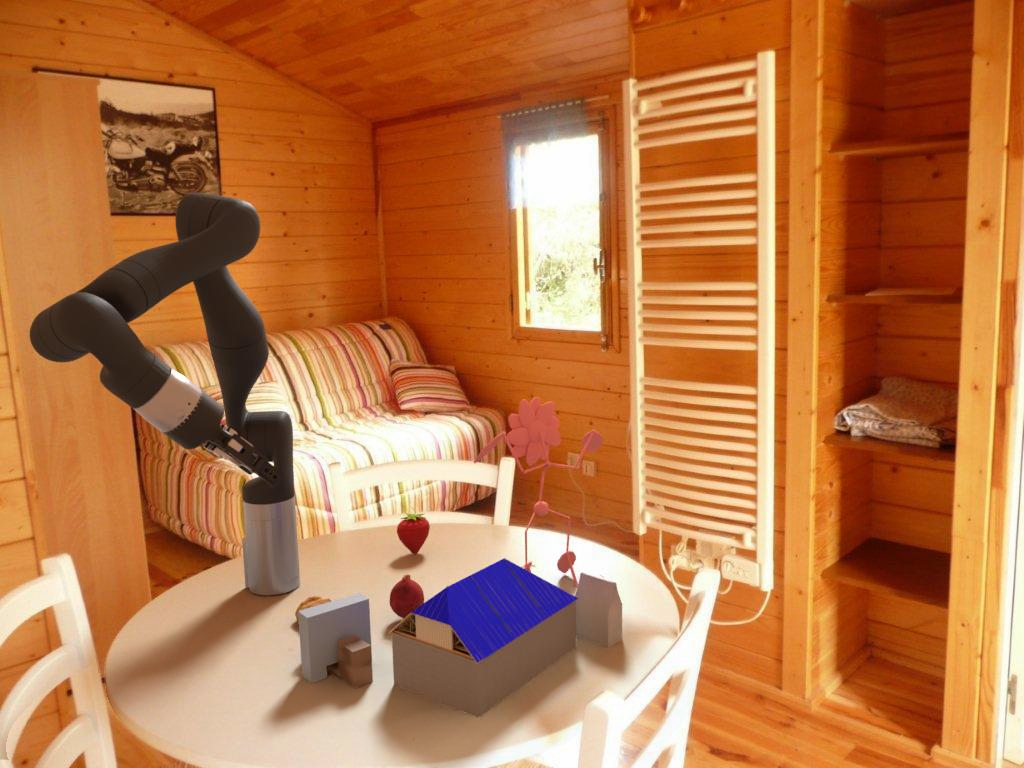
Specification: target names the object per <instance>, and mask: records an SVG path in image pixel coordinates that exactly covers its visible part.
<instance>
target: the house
mask: <svg viewBox="0 0 1024 768" xmlns="http://www.w3.org/2000/svg"><path fill="white" fill-rule="evenodd" d="M576 600H578V598H577V597H575V595H573V594H571V593H569V592H567V591H565V590H563V589H562V588H560V587H558V586H556V585H554V584H553V583H551V582H549V581H547V580H545V579H543V578H541V577H540V576H538V575H536V574H534V573H532V571H531V572H529V571H527V570H525V569H524V567H523V566H519V565H518V564H516V563H514V562H512V561H510V560H509V559H507V558H505V557H504V558H502V559H500V560H498V561H496V562H493V563H492V564H490V565H488V566H486V567H484V568H482V569H480V570H478V571H475V572H474V573H472V574H469V575H468V576H466V577H465V578H463V579H462V578H461V579H460V580H458V581H456V582H455V583H452V584H449V585H446V587H445V588H443V589H442V590H441V591H439V592H437V593H436V594H435V595H434V596H432V597H431V598H428V600H426V601H424V604H422V605H421V606H419V607H418V608H417V609H415V610H414V611H412V612H411V613H410V614H409V615H408V616H407V617H405V618H404V619H403V618H402V620H401V621H400V622H398V624H396V625H395V626H394V627H393V628H392V629H391V630H390V631H389V632H388V634H391V645H392V646H391V648H392V668H393V669H392V670H393V672H392V673H393V685H394V686H397V687H399V688H402V689H405V690H408V691H410V692H413V693H415V694H418V695H420V696H422V697H425V698H427V699H430V700H432V701H435V702H437V703H441V704H443V705H445V706H447V707H448V706H449V707H450V708H453V709H455V710H458V711H460V712H463V713H466V714H468V715H470V716H474V717H475V718H477V719H478V718H480V717H482V716H483V715H485V714H486V713H487V712H488V711H490V710H491V709H493V708H495V707H496V706H497V705H498V704H500V703H501V702H503V700H504V701H505V699H507V698H508V697H510V696H511V695H512V694H513V693H515V692H516V691H517V690H519V689H520V688H522V687H523V686H524V685H526V684H527V683H529V682H530V681H531V680H532V679H535V678H536V677H537V676H539V674H541V673H542V672H544V671H545V670H547V669H548V668H549V667H550V666H552V665H554V664H555V663H556V662H558V661H559V660H560V659H562V658H563V657H565V655H567V654H568V653H570V652H571V651H573V650H574V649H575V648H577V636H576Z"/></svg>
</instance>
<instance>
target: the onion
mask: <svg viewBox="0 0 1024 768" xmlns="http://www.w3.org/2000/svg"><path fill="white" fill-rule="evenodd" d="M424 603H425V594H424V590H423V587H422V586H421V585H420V584H419V583H418V582H417V581H415V580H413V579H411V574H409V573H405V574H404V575H403V577H402V578H401V580H400V581H398V582H397V583H396V584H395V585H394V586H393V587H392V588H391V590H390V593H389V606H390V609H391V610H392V612H394V614H395V615H397V617H399V618H402V620H403V619H404V618H405V617H407V616H408V615H409V614H410V613H411V612H412V611H414V610H415V609H417V608H418V607H419V606H421V605H422V604H424Z"/></svg>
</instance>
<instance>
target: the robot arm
mask: <svg viewBox="0 0 1024 768" xmlns="http://www.w3.org/2000/svg"><path fill="white" fill-rule="evenodd" d="M174 220H175V229H176V230H175V231H176V232H175V233H176V235H177V236H176V238H177V241H174V242H171V243H170V242H169V243H167V244H166V243H165V244H163V245H159V246H156V247H151V248H147V249H145V250H141V251H139V252H137V253H134V254H132V255H129V256H127V257H125V258H124V259H122V260H121V261H119V262H118V263H116V264H115V265H113V266H111V267H110V268H108V269H107V270H105V271H104V272H102V273H101V274H99V275H98V276H97V277H96V278H95V279H93V280H92V281H91V282H90V283H88V284H87V285H86V286H84V287H82V288H80V289H79V290H78V291H76V292H73V293H70V294H68V295H67V296H65V297H63V298H62V299H60V300H58V301H57V302H55V303H53V304H52V305H50V306H48V307H46V308H45V309H44V310H42V311H40V312H39V313H38V314H37V315H36V316H35V317H34V319H33V321H31V322H32V323H31V325H30V328H29V340H30V344H31V346H32V347H33V349H34V350H35V352H36V353H37V354H39V356H41V357H42V358H44V359H45V360H48V361H49V362H50V361H51V362H54V363H69V362H74V361H77V360H79V359H81V358H83V357H84V356H87V355H88V354H91V355H92V356H94V357H95V359H97V360H98V361H99V362H100V363H101V365H102V366H101V368H100V372H99V380H100V383H101V385H102V386H103V387H104V388H105V389H106V390H107V391H109V393H111V394H113V395H114V396H115V397H117V399H119V400H121V401H122V402H123V403H125V405H128V406H129V407H130V408H132V409H133V410H134V411H135V412H136V413H137V414H138V415H139V416H141V418H143V420H145V421H146V422H147V423H149V424H150V425H152V426H153V427H154V428H156V430H159V432H161V433H162V434H163V435H165V436H167V438H169V439H170V440H171V441H173V442H174V443H175V444H177V445H178V446H180V447H181V448H183V449H185V450H189V451H190V450H194V449H196V448H198V447H200V446H202V445H203V448H204V449H206V450H207V451H208V452H210V453H212V454H214V455H215V456H217V457H218V458H219V459H224V460H225V461H229V462H230V463H231V464H233V465H235V466H236V467H238V468H239V469H240V470H242V472H244V473H246V475H247V474H248V475H252V474H254V475H257V477H255V478H252V479H249V480H248V481H246V482H245V483H244V484H243V485H242V489H241V493H242V495H241V496H242V508H243V519H244V533H245V536H244V537H242V539H241V544H242V554H243V555H242V558H243V570H244V584H245V585H244V586H245V588H248V589H249V592H250V593H252V594H255V595H258V596H276V595H282V594H286V593H289V592H291V591H293V590H295V589H297V588H298V587H299V586H300V585H301V577H300V576H301V575H300V559H299V558H300V557H299V542H298V525H297V509H296V494H295V475H294V429H293V421H292V417H290V414H289V413H288V412H287V411H283V410H272V411H271V410H269V411H268V410H267V411H250V410H249V411H248V410H247V409H248V408H247V407H246V402H247V400H248V398H249V395H250V394H251V391H252V389H253V387H254V386H255V384H256V382H257V380H258V379H259V377H260V376H261V375H262V373H263V371H264V369H265V367H266V365H267V363H268V360H269V355H270V354H269V353H270V350H269V344H268V339H267V333H266V327H265V324H264V320H263V318H262V316H261V314H260V312H259V311H258V309H257V307H256V306H255V305H254V303H253V302H252V300H251V299H250V298H249V296H248V295H247V294H246V293H245V292H244V290H243V289H242V288H241V287H240V286H239V284H238V283H237V282H236V280H235V278H234V277H233V275H232V274H231V272H230V270H229V268H228V266H229V265H231V264H233V263H235V262H237V261H240V260H242V259H243V258H245V257H246V256H248V255H249V254H250V253H252V251H253V250H254V249H255V248H256V246H257V243H258V241H259V239H260V235H261V220H260V216H259V213H258V211H257V209H256V207H254V206H253V205H252V204H251V203H249V202H247V201H246V200H243V199H239V198H236V197H231V196H230V197H229V196H225V195H218V194H212V193H211V194H210V193H205V192H190V193H187V194H185V195H183V196H182V198H180V201H179V202H178V204H177V207H176V210H175V218H174ZM191 283H193V285H194V286H193V287H194V289H195V292H196V295H197V299H198V303H199V307H200V310H201V314H202V317H203V322H204V326H205V332H206V337H207V338H206V339H207V342H208V346H209V350H210V355H211V358H212V361H213V365H214V369H215V372H216V377H217V380H218V383H219V388H220V392H221V397H222V401H223V404H221V403H219V402H218V401H217V400H216V399H214V398H213V397H212V396H211V395H209V394H208V393H206V392H205V391H204V390H203V389H202V388H200V386H198V385H197V384H195V383H194V382H193V381H192V380H191V379H189V378H188V377H187V376H185V375H184V374H182V373H181V372H178V371H177V370H175V369H174V368H173V367H171V366H170V365H168V364H167V363H165V361H163V360H162V359H161V358H160V357H158V356H157V355H156V354H154V353H153V352H152V351H150V350H149V349H147V348H146V346H145V345H144V344H143V343H142V341H141V340H140V338H139V337H138V335H137V334H136V333H135V331H134V330H133V329H132V328H131V326H130V325H129V323H131V322H133V321H136V319H138V318H140V317H141V316H143V315H144V314H146V313H147V312H148V311H150V310H151V309H152V308H154V307H155V306H157V305H158V304H159V303H160V302H161V301H163V300H164V299H166V298H168V297H169V296H171V294H173V293H175V292H177V291H178V290H180V289H181V288H183V287H185V286H187V285H189V284H191ZM224 416H225V422H226V423H225V424H226V426H225V425H224V424H222V420H223V418H224ZM271 462H272V463H273V464H271Z"/></svg>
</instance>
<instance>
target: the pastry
mask: <svg viewBox="0 0 1024 768" xmlns="http://www.w3.org/2000/svg"><path fill="white" fill-rule="evenodd" d="M331 601H332V600H331V599H330V598H323V597H321V596H319V595H317V596H315V595H313V596H310V597H307V598H306V599H305V600H304V601H301V602H300V604H299V605H298V606H297V609H296V611H295V613H294V615H295V619H296V621H297V623H298V624H299V617H298V611H301V610H304V609H308V608H311V607H314V606H317V605H321V604H324V603H327V602H331Z"/></svg>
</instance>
